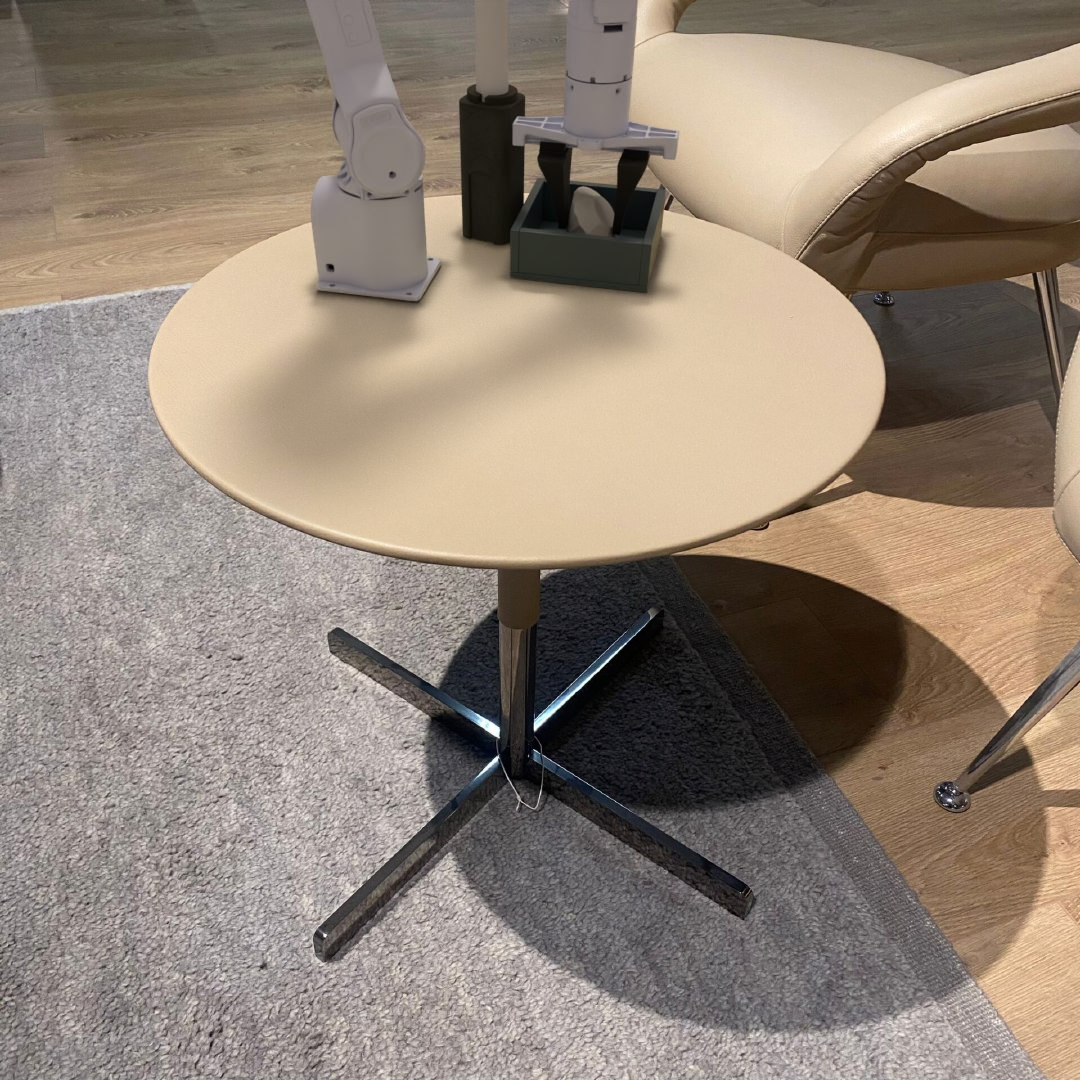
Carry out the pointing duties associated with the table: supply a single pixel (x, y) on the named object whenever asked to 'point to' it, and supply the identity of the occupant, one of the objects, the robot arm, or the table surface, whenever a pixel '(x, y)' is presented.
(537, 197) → the bin
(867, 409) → the table surface
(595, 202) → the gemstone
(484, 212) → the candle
